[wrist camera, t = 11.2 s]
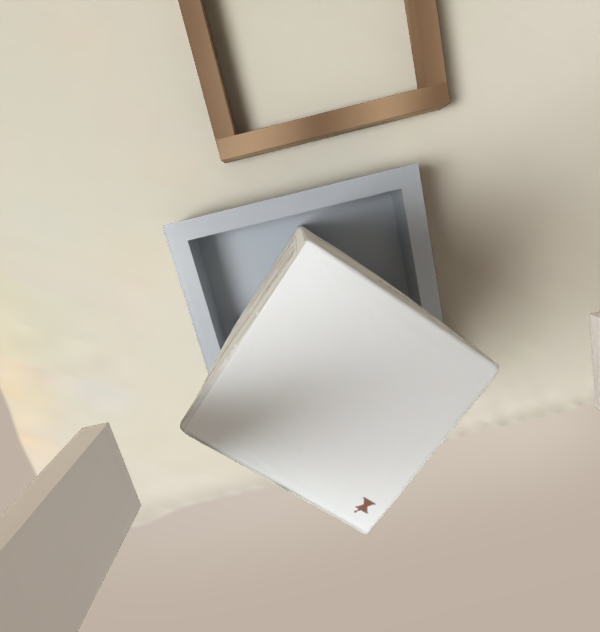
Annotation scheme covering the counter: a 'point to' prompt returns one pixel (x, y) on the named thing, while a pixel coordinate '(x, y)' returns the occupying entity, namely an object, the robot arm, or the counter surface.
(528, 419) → the counter surface
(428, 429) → the supplement box
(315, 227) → the grey tray
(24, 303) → the counter surface
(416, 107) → the walnut collar
